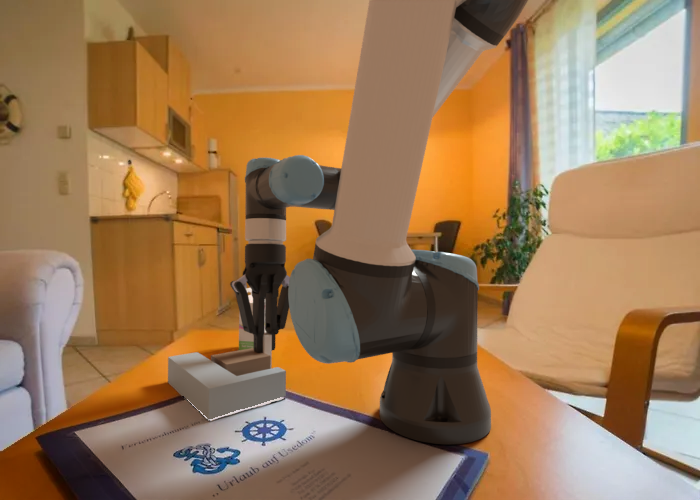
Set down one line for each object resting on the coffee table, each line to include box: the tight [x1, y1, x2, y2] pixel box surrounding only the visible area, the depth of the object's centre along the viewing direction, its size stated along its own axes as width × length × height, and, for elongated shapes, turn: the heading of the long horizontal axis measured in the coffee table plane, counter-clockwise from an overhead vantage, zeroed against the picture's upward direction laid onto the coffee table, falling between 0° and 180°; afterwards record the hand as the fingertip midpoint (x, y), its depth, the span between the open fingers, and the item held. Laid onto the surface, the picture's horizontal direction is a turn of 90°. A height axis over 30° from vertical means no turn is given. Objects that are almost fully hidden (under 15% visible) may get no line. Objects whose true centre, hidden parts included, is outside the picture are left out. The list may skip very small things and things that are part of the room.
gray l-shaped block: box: [167, 351, 287, 419], centre depth 61 cm, size 20×12×4 cm, turn 41°
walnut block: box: [210, 348, 271, 376], centre depth 65 cm, size 7×8×5 cm
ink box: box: [238, 287, 266, 351], centre depth 88 cm, size 9×5×15 cm, turn 168°
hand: (264, 368), depth 68 cm, fingers closed
